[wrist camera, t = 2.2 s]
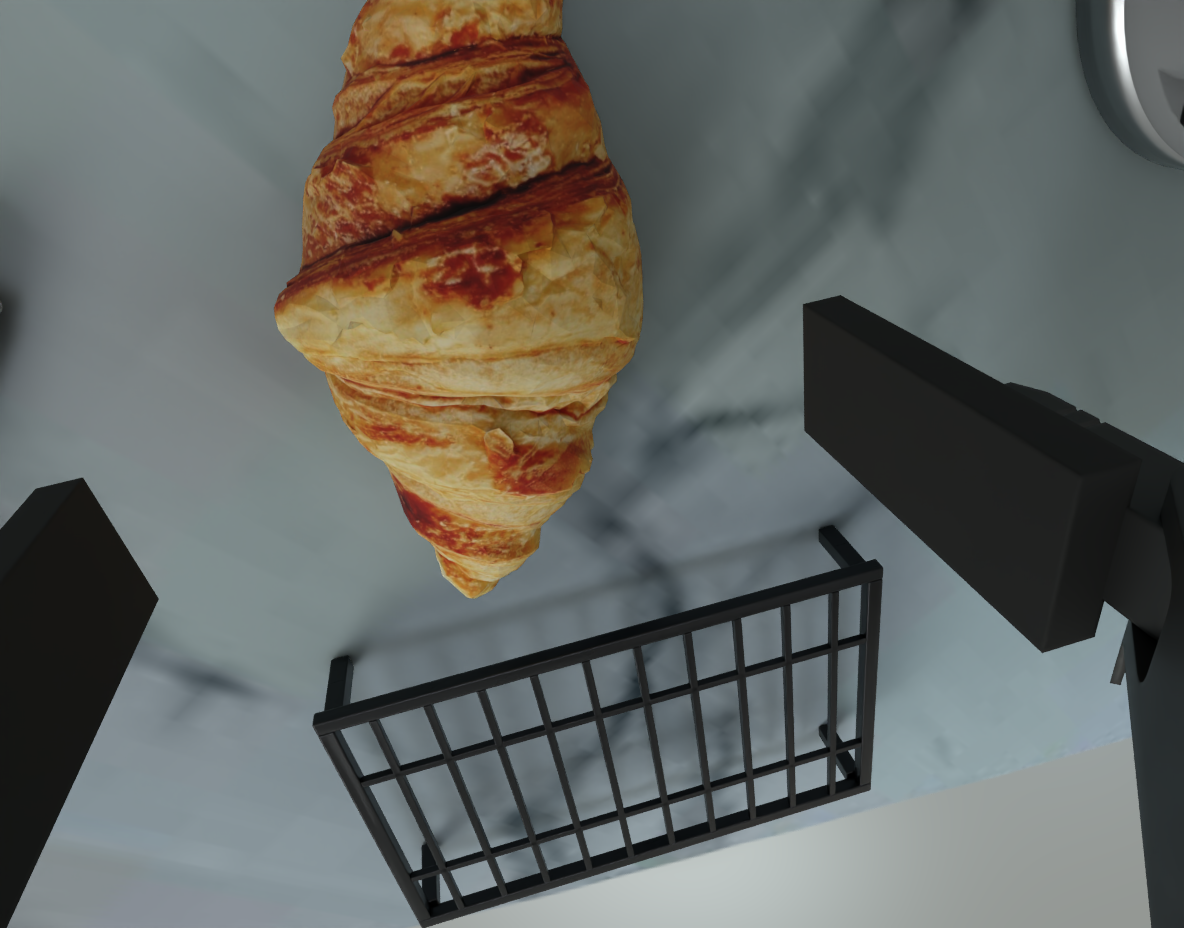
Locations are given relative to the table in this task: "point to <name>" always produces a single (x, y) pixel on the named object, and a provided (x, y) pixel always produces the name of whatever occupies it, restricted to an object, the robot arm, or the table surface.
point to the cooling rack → (478, 680)
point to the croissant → (468, 270)
